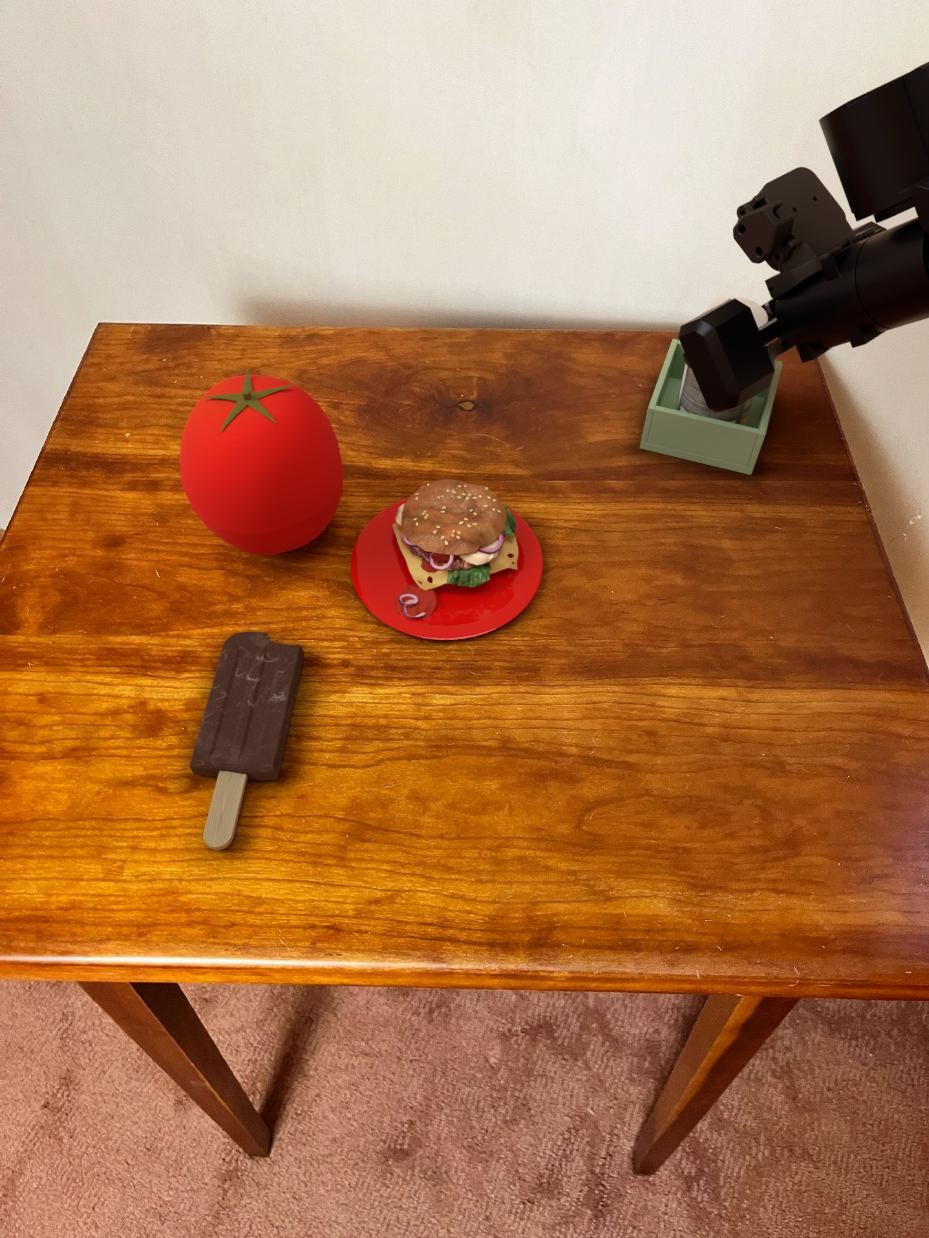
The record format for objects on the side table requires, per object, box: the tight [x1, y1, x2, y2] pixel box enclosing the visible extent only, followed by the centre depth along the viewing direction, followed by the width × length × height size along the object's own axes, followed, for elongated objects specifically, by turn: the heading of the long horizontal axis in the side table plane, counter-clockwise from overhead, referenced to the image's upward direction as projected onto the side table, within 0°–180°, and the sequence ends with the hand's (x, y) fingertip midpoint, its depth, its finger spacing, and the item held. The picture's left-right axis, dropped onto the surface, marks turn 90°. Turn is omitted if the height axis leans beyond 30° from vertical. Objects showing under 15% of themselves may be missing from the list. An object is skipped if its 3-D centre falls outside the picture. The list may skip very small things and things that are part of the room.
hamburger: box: [350, 478, 544, 641], centre depth 64 cm, size 14×14×6 cm
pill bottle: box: [676, 296, 768, 425], centre depth 71 cm, size 6×6×10 cm
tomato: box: [179, 368, 344, 556], centre depth 64 cm, size 11×11×13 cm
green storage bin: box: [639, 338, 783, 476], centre depth 74 cm, size 9×9×4 cm
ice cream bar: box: [189, 631, 305, 851], centre depth 58 cm, size 5×2×15 cm
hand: (714, 344), depth 70 cm, fingers closed on pill bottle, 6 cm apart
